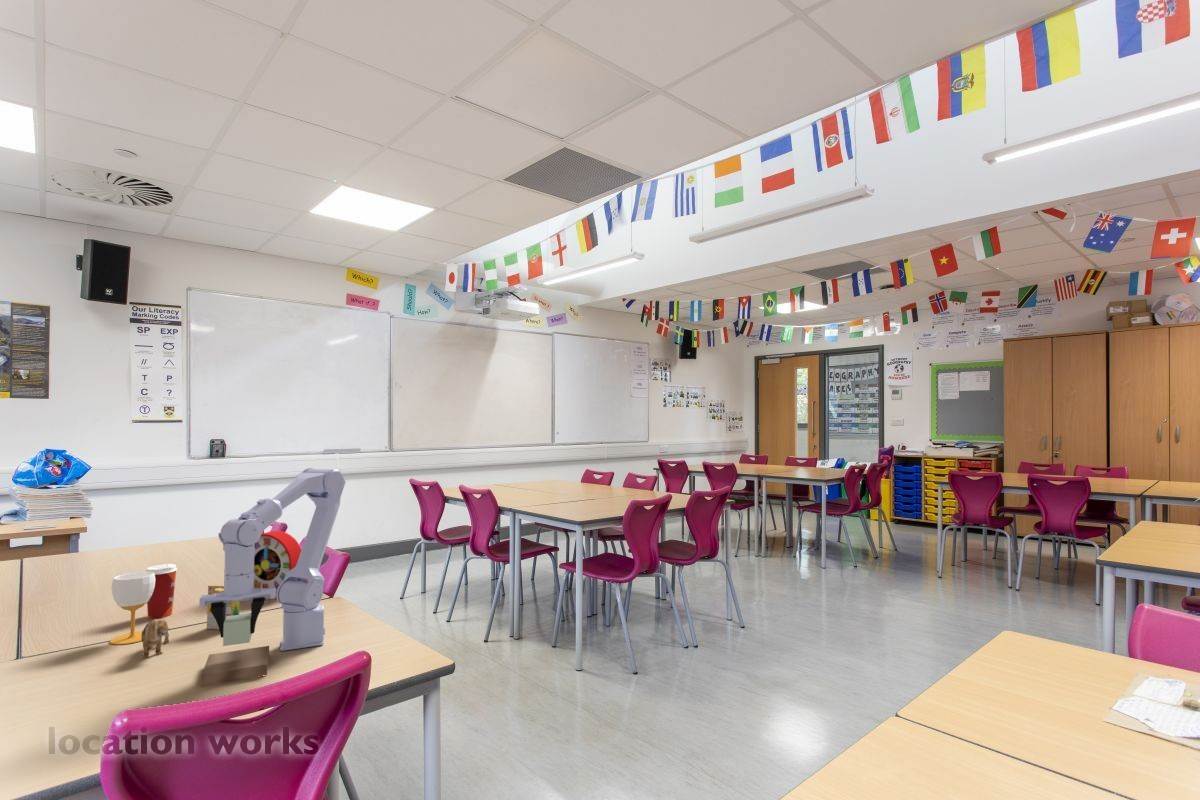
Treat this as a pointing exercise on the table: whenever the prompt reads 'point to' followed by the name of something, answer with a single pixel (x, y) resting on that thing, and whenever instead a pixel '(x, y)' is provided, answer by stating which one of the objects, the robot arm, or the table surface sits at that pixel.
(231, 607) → the crayon box
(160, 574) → the paper cup
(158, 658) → the table surface
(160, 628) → the tan animal figurine
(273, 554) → the toy clock
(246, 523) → the robot arm
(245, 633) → the sage cube
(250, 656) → the walnut block
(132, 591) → the cup
